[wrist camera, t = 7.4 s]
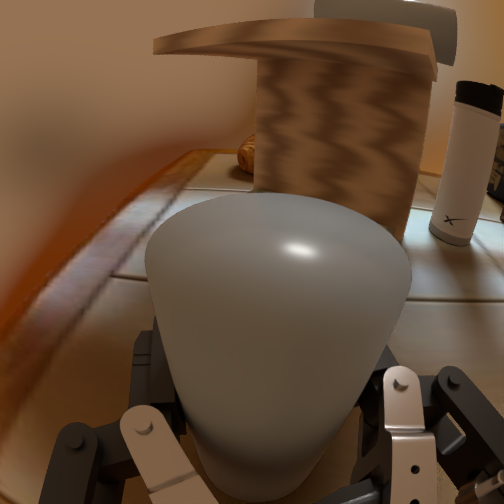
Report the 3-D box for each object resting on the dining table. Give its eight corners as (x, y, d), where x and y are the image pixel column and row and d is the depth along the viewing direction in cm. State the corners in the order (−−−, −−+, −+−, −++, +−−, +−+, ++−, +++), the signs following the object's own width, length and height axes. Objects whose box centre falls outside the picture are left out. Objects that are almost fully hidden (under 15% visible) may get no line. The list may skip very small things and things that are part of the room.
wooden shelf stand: (407, 236, 32) (437, 69, 22) (369, 326, 20) (429, 30, 10) (258, 190, 42) (263, 49, 32) (165, 237, 30) (153, 39, 20)
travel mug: (446, 248, 30) (483, 78, 20) (420, 222, 36) (446, 73, 25) (479, 248, 31) (515, 95, 20) (452, 223, 36) (480, 86, 26)
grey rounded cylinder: (331, 437, 13) (425, 232, 7) (273, 521, 9) (362, 409, 3) (244, 391, 16) (249, 179, 10) (178, 460, 12) (93, 254, 6)
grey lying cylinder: (333, 35, 25) (449, 55, 20) (318, 51, 22) (453, 75, 17) (327, -12, 20) (451, 5, 15) (310, -5, 18) (458, 15, 13)
